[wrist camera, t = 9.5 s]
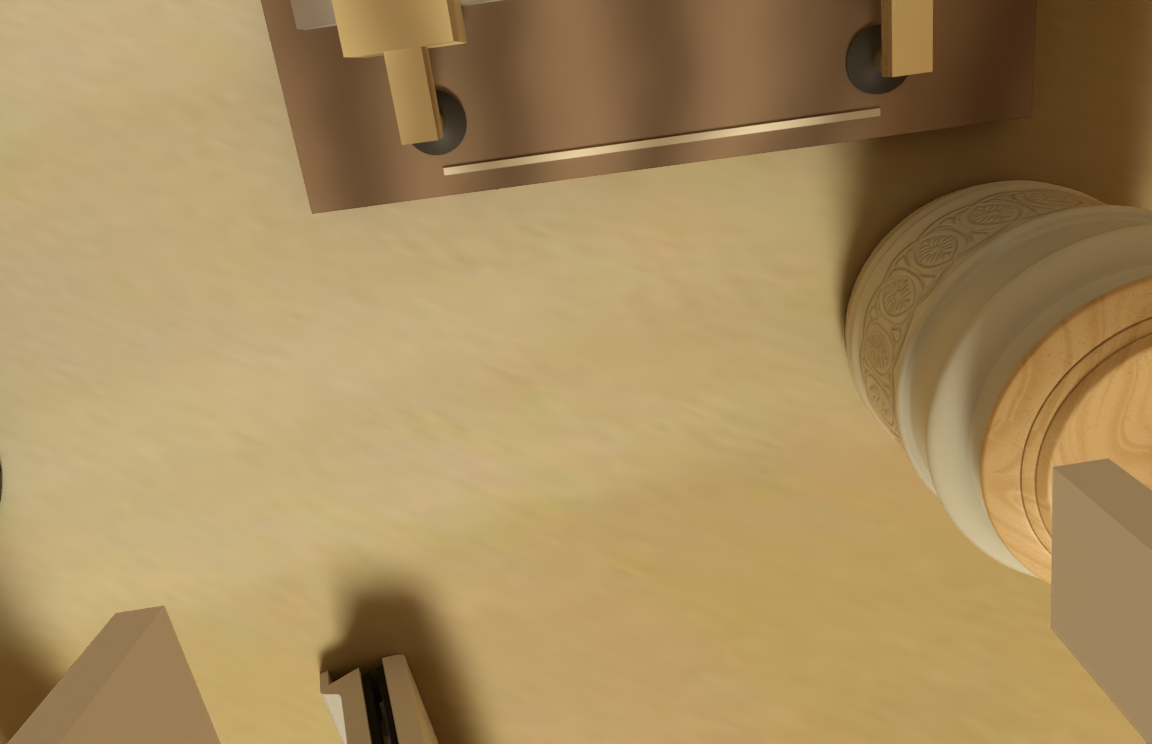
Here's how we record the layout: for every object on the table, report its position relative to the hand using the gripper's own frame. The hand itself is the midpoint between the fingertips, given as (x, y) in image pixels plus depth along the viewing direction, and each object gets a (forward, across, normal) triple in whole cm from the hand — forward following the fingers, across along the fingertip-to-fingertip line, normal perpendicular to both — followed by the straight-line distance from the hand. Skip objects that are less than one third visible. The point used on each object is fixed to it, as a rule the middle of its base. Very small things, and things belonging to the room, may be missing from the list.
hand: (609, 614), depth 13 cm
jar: (+27, +17, -7) cm, 33 cm away
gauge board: (+28, +4, +9) cm, 29 cm away
